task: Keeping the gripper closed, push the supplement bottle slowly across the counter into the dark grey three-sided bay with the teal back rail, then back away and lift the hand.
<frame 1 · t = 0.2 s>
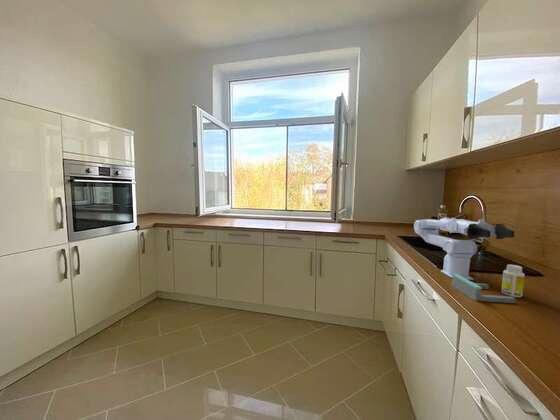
hand: (501, 234, 86), 22 cm above the worktop, tool horizontal, fingers open, 7 cm apart
bay: (480, 293, 89), on the worktop
supplement bottle: (511, 295, 89), on the worktop
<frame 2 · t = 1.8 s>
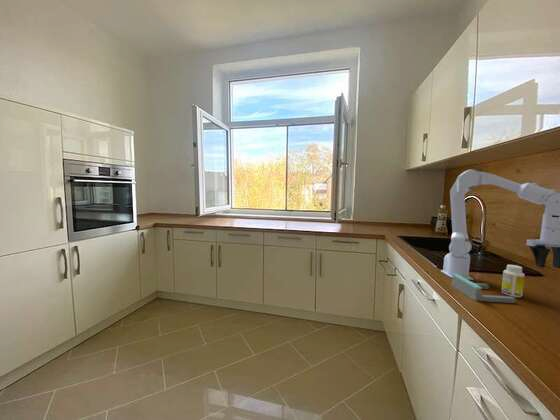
hand: (548, 267, 88), 10 cm above the worktop, tool pointing down, fingers open, 5 cm apart
nothing on the worktop moved.
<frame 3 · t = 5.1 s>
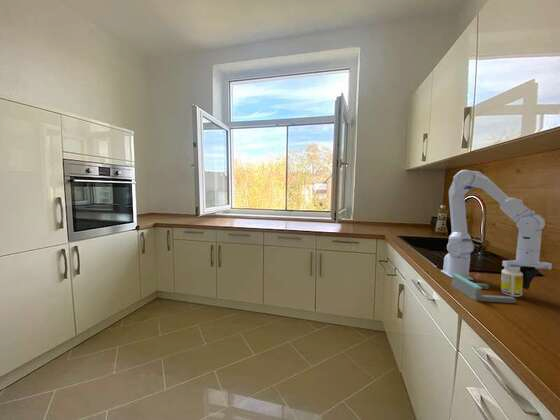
hand: (524, 288, 89), 3 cm above the worktop, tool pointing down, fingers closed
supplement bottle: (511, 294, 89), on the worktop, touching gripper
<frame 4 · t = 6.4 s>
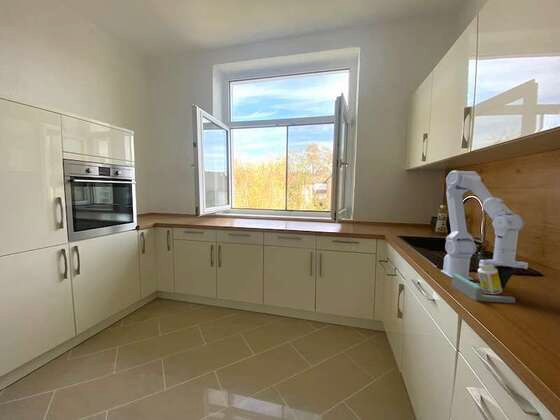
hand: (500, 287, 89), 2 cm above the worktop, tool pointing down, fingers closed
supplement bottle: (492, 291, 90), point 1 cm above the worktop, touching gripper
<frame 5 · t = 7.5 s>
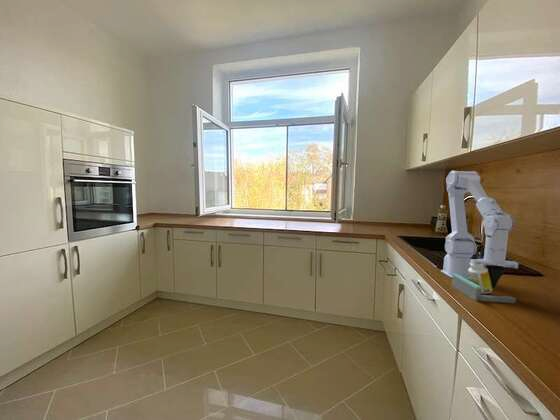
hand: (491, 286, 90), 2 cm above the worktop, tool pointing down, fingers closed
supplement bottle: (482, 291, 90), point 1 cm above the worktop, touching gripper
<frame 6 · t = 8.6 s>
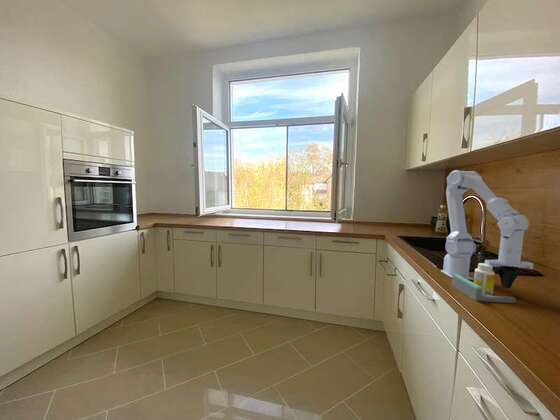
hand: (505, 287, 89), 2 cm above the worktop, tool pointing down, fingers closed
supplement bottle: (482, 293, 90), on the worktop
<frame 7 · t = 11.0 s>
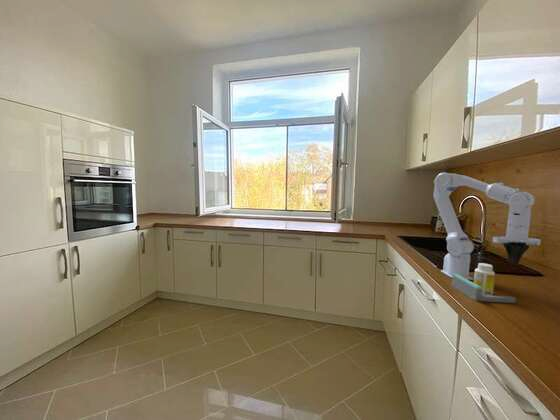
hand: (513, 263, 91), 10 cm above the worktop, tool pointing down, fingers closed
nothing on the worktop moved.
at the end: supplement bottle inside the target area on the bay (1.6 cm from its centre), point 0.0 cm above the bay's base; supplement bottle tilted 0°; supplement bottle moved 9.7 cm from its start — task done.
